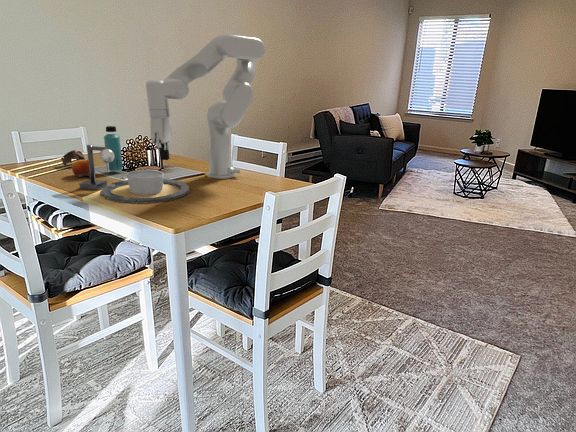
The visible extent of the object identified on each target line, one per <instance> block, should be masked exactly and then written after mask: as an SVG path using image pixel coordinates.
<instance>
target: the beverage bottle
mask: <svg viewBox="0 0 576 432" xmlns="http://www.w3.org/2000/svg"><path fill="white" fill-rule="evenodd" d="M105 132H107V133H106V134H105V135H104V137H103V139H104V147H107V149H110V150H112V151H113V153H114V155H115V158H114V160H113V161H112V162H109V172H110V171H111V172H117V171H119V172H120V171H122V170H123V157H122V149H121V148H122V147H121V139H120V138H121V137H120V136H119V135H118V134H116V133H115V132H117V128H116V126H115V125H110V126H109V125H107V126H105ZM105 164H106V168H107V163H105Z"/></svg>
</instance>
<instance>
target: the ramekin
mask: <svg viewBox="0 0 576 432" xmlns="http://www.w3.org/2000/svg"><path fill="white" fill-rule="evenodd" d="M126 179H127V180H128V183H129V184H128V188H129V191H130V192H131V193H132V194H133V195H134V194H135V195H139V196H151V195H156V194H159V193H161V192H162V190H163V187H164V183H163V179H165V173H164V172H163V171H160V170H155V169H137V170H132V171H131V170H130V171H128V172H127V173H126Z"/></svg>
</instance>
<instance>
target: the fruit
mask: <svg viewBox="0 0 576 432" xmlns="http://www.w3.org/2000/svg"><path fill="white" fill-rule="evenodd" d="M71 170H72V173H73V174H74V176H76V177H79V178H82V177H86V176H87V177H90V171H89V162H88V160H87V159H85V160H78V161H77V160H76V161H74V162H72V163H71Z"/></svg>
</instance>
